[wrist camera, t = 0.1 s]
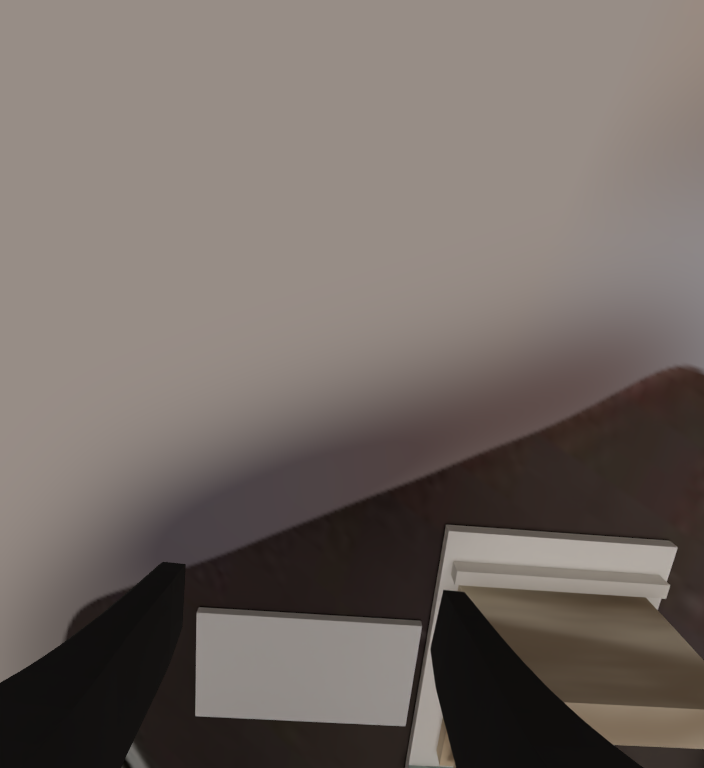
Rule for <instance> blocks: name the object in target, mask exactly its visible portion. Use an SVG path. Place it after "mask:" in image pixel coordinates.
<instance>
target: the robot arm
mask: <svg viewBox="0 0 704 768" xmlns="http://www.w3.org/2000/svg"><path fill="white" fill-rule="evenodd" d="M184 584H185V564H178V563H168V562H162V563H161V564H160V565H158V566H157V567H156V568H155V569H154V570H153V571H151V572H150V573H149V574H148V575H147V576H146V577H145V578H143V579H142V580H141V581H140V582H139V583H138V584H137V585H136V586H134V587H133V588H132V589H131V590H130V591H129V592H127V593H126V594H125V595H124V596H123V597H122V598H120V599H119V600H118V601H117V602H115V603H114V604H113V605H112V606H111V607H109V608H108V609H107V610H106V611H105V612H103V613H102V614H101V615H100V616H98V617H97V618H96V619H95V620H93V621H92V622H91V623H89V624H88V625H87V626H85V627H84V628H83V629H81V630H80V631H79V632H77V633H76V634H75V635H73V636H72V637H71V638H69V639H68V640H67V641H65V642H64V643H62V644H61V645H60V646H58V647H57V648H55V649H54V650H52V651H51V652H49V653H48V654H47V655H45V656H44V657H42V658H41V659H39V660H38V661H36V662H34V663H33V664H31V665H30V666H28V667H26V668H25V669H23V670H21V671H20V672H18V673H17V674H15V675H13V676H11V677H9V678H8V679H6V680H4V681H3V682H1V683H0V768H121V767H122V764H123V762H124V760H125V757H126V755H127V753H128V751H129V749H130V747H131V745H132V742H133V740H134V738H135V736H136V734H137V732H138V730H139V728H140V726H141V724H142V721H143V719H144V717H145V715H146V713H147V711H148V709H149V707H150V705H151V702H152V700H153V698H154V696H155V694H156V692H157V690H158V688H159V685H160V683H161V681H162V679H163V677H164V675H165V672H166V670H167V668H168V666H169V663H170V661H171V658H172V655H173V652H174V649H175V646H176V643H177V641H178V638H179V635H180V632H181V629H182V622H183V603H184ZM430 651H431V658H432V666H433V673H434V680H435V686H436V691H437V695H438V699H439V703H440V707H441V711H442V715H443V719H444V723H445V727H446V731H447V734H448V738H449V742H450V746H451V750H452V754H453V758H454V761H455V765H456V768H643V767H642V766H640V765H639V764H637V763H636V762H635V761H634V760H632V759H631V758H630V757H628V756H627V755H626V754H624V753H623V752H622V751H620V750H619V749H618V748H617V747H615V746H614V745H613V744H612V743H610V742H609V741H608V740H607V739H605V738H604V737H603V736H602V735H601V734H599V733H598V732H597V731H596V730H594V729H593V728H592V727H591V726H590V725H588V724H587V723H586V722H585V721H584V720H583V719H581V718H580V717H579V716H578V715H577V714H576V713H575V712H574V711H573V710H572V709H570V708H569V707H568V706H567V705H566V704H565V703H564V702H563V701H562V700H561V699H560V698H559V697H557V696H556V695H555V694H554V693H553V692H552V691H551V690H550V689H549V688H548V687H547V686H546V685H545V684H544V683H543V682H542V681H541V680H540V679H539V678H538V677H537V676H536V674H535V673H534V672H533V671H532V670H531V669H530V668H529V667H528V666H527V665H526V664H525V663H524V662H523V661H522V660H521V658H520V657H519V656H518V655H517V654H516V653H515V652H514V651H513V650H512V648H511V647H510V646H509V645H508V644H507V643H506V641H505V640H504V639H503V638H502V637H501V636H500V634H499V633H498V632H497V631H496V630H495V628H494V627H493V626H492V625H491V624H490V622H489V621H488V620H487V619H486V618H485V616H484V615H483V614H482V613H481V611H480V610H479V609H478V608H477V606H476V605H475V604H474V603H473V602H472V600H471V599H470V598H469V597H468V595H467V594H466V593H465V592H461V591H450V590H443V594H442V598H441V603H440V607H439V612H438V616H437V621H436V625H435V630H434V634H433V639H432V643H431V648H430Z"/></svg>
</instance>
